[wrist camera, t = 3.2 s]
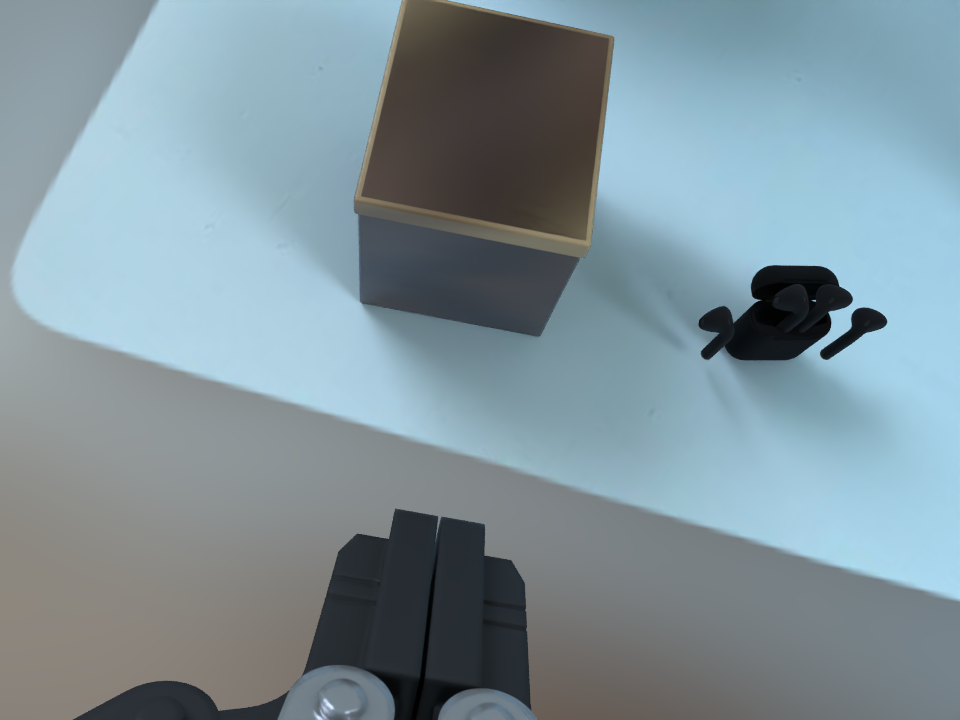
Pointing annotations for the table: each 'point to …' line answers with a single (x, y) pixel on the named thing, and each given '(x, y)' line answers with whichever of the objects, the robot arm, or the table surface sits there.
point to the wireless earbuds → (787, 316)
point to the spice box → (481, 165)
